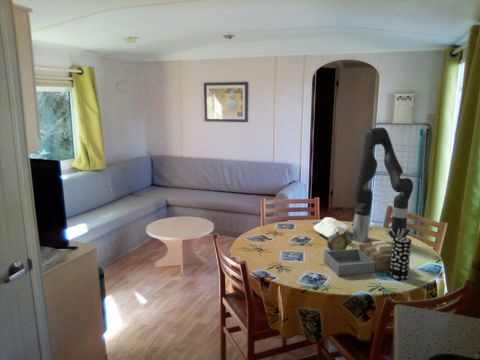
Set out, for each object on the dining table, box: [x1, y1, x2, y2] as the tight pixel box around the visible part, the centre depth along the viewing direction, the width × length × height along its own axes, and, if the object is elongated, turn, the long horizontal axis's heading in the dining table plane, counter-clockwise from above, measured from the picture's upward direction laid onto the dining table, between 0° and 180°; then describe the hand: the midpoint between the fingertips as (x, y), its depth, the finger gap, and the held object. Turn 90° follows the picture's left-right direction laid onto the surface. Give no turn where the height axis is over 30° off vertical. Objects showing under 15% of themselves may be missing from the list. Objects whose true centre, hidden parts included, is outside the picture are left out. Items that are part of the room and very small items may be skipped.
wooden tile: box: [371, 240, 392, 252], centre depth 194 cm, size 7×7×3 cm
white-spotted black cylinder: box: [389, 236, 412, 282], centre depth 180 cm, size 8×8×20 cm
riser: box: [358, 242, 392, 274], centre depth 195 cm, size 18×14×9 cm
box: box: [323, 248, 376, 278], centre depth 192 cm, size 18×20×6 cm
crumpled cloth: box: [313, 216, 351, 239], centre depth 241 cm, size 24×35×9 cm
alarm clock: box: [326, 227, 348, 251], centre depth 209 cm, size 11×5×16 cm, turn 105°
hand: (396, 245), depth 196 cm, fingers closed
